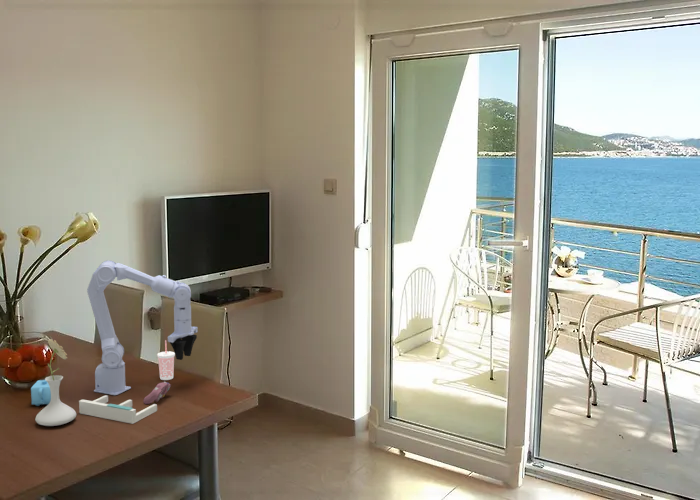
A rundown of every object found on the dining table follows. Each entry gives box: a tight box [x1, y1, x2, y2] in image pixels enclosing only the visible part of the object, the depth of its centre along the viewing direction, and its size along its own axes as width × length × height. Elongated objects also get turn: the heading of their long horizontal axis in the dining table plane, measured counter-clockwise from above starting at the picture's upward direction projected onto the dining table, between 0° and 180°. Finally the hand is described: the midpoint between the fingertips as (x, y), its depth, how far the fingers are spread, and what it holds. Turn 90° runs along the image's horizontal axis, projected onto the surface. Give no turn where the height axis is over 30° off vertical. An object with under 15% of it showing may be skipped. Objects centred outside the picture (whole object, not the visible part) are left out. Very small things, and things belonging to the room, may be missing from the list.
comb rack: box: [78, 394, 158, 425], centre depth 216 cm, size 20×12×4 cm, turn 68°
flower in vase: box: [35, 338, 77, 427], centre depth 207 cm, size 13×11×25 cm
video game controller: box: [143, 380, 172, 405], centre depth 227 cm, size 10×5×7 cm, turn 169°
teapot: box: [30, 379, 51, 407], centre depth 224 cm, size 12×6×8 cm, turn 8°
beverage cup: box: [156, 339, 176, 381], centre depth 248 cm, size 6×6×14 cm
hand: (183, 357), depth 239 cm, fingers open, 4 cm apart
